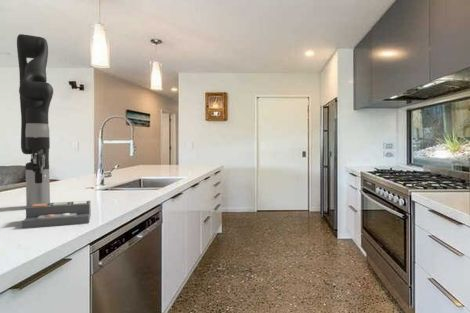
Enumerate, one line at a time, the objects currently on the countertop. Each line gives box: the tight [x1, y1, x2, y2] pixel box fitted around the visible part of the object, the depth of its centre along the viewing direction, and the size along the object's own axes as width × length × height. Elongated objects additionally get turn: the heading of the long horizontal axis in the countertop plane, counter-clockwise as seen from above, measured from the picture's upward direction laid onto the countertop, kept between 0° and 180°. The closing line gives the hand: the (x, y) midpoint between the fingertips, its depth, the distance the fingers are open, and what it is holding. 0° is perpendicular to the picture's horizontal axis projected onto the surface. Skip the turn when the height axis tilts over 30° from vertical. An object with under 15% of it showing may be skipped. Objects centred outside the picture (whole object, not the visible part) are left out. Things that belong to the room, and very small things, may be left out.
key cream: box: [73, 200, 88, 205], centre depth 124 cm, size 5×5×2 cm
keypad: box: [22, 200, 92, 229], centre depth 120 cm, size 14×21×6 cm
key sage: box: [52, 201, 69, 206], centre depth 122 cm, size 5×5×2 cm
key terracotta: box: [31, 203, 48, 207], centre depth 119 cm, size 5×5×2 cm
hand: (38, 183), depth 119 cm, fingers closed
